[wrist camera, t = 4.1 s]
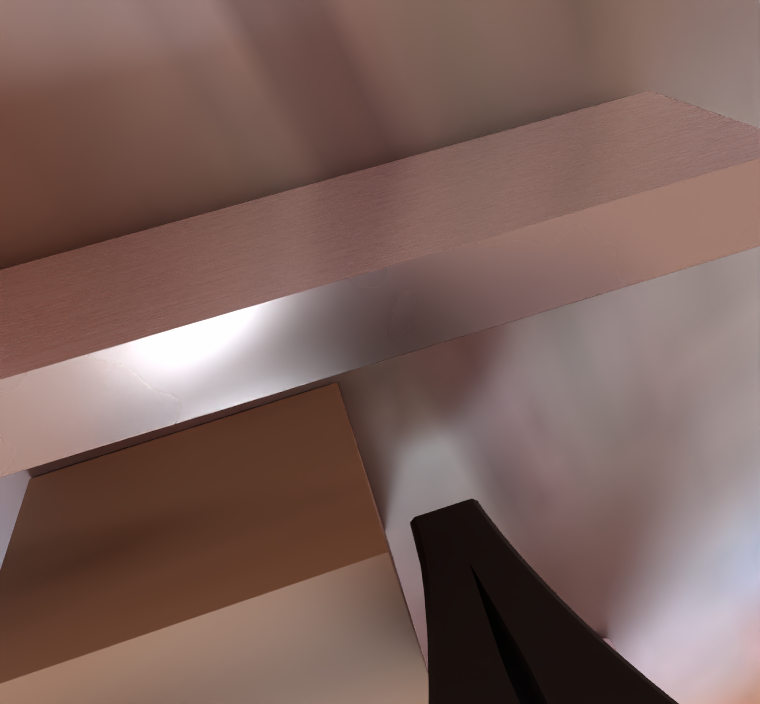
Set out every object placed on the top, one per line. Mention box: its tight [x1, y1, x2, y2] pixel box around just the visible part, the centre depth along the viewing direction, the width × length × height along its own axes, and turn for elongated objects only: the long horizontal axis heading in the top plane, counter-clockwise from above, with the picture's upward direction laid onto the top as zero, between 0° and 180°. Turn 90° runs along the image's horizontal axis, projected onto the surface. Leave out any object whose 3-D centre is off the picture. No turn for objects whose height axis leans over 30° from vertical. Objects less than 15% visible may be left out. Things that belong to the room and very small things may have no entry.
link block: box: [0, 382, 429, 704], centre depth 11 cm, size 5×6×4 cm
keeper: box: [0, 91, 760, 477], centre depth 8 cm, size 12×1×4 cm, turn 101°
